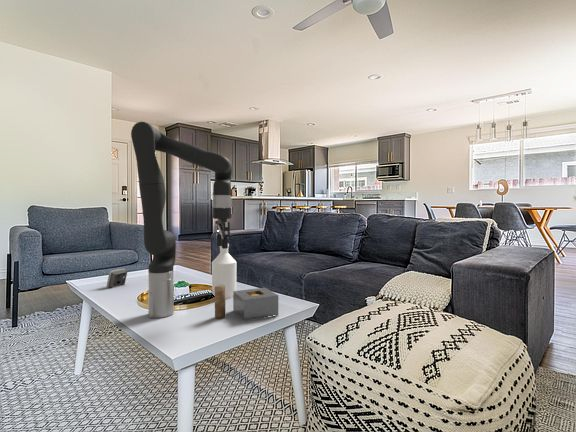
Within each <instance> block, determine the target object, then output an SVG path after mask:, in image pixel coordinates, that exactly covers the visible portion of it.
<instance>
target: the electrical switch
mask: <svg viewBox="0 0 576 432" xmlns="http://www.w3.org/2000/svg"><path fill="white" fill-rule="evenodd" d="M127 276H128V271H126V270H125V268H117V269H113V270H110V271H109V272H108V277H107V282H106V288H108V289H109V288H111V289H114V288H117V287H123V286H125V284H126V281H127Z"/></svg>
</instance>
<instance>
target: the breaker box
mask: <svg viewBox="0 0 576 432" xmlns="http://www.w3.org/2000/svg"><path fill="white" fill-rule="evenodd" d="M253 294H259V295H254V296H250V295H253ZM232 298H233V301H232V303H233V312H234V313H235V314H236V315H238V317H239V318H240V319H242V320H243V322H246V321H253V320H260V319H265V318H264V317H267V318H269V317H268V316H273V315H278V316H279V294H277V293H275V292H274V291H272V290H270V289H268V288H266V287H259V288H250V289H242V290H241V289H240V290H236V291H233V297H232ZM273 317H274V316H273Z"/></svg>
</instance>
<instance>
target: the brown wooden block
mask: <svg viewBox="0 0 576 432" xmlns="http://www.w3.org/2000/svg"><path fill="white" fill-rule="evenodd" d="M214 318H215V320H223V319H225V318H226V298H225V286H224V285H218V286H215V298H214Z"/></svg>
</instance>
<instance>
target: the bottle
mask: <svg viewBox="0 0 576 432" xmlns="http://www.w3.org/2000/svg"><path fill="white" fill-rule="evenodd" d="M218 247H219V253H218V255H217V256H216V257H215V258H214V259H213V261H211V285H212V286H211V288H212V290H211V291H212V293H211V294H213V295H214V296H215V286H218V285H224V286H225V299H230V298H231V299H232V298H233V291H237V267H238V265H237V261H236V259H235V258H234V257H233V256H232V255H231V254H230V253H229V247H230V244H229V243H228V248H227V249H223V248H222V246H218Z"/></svg>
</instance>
